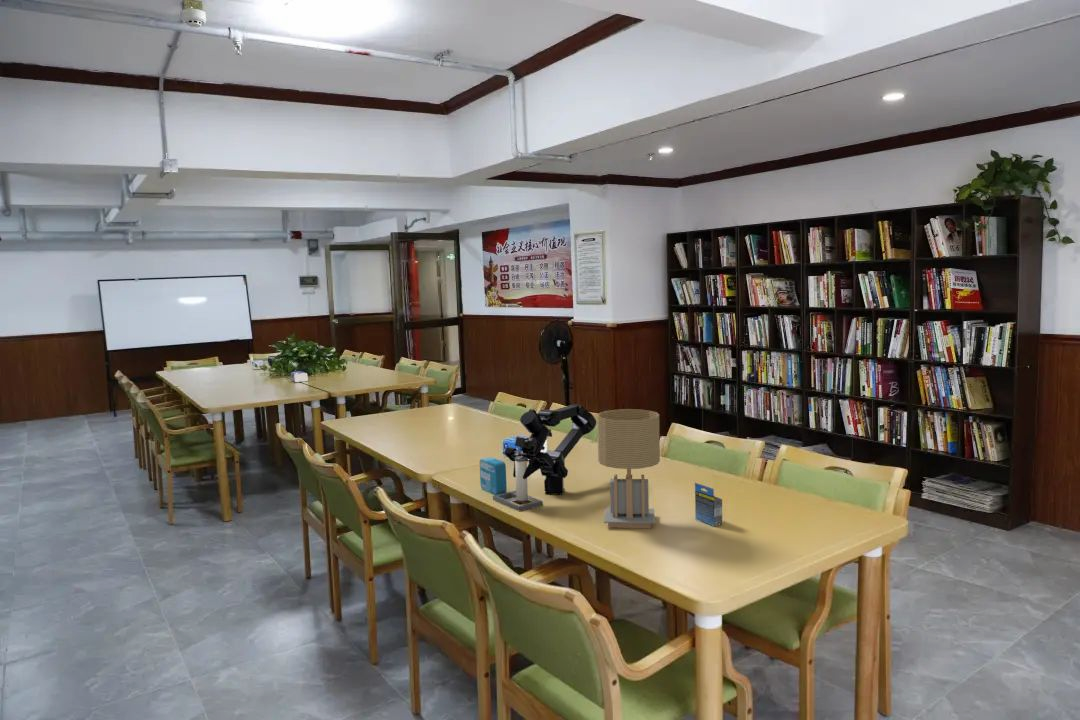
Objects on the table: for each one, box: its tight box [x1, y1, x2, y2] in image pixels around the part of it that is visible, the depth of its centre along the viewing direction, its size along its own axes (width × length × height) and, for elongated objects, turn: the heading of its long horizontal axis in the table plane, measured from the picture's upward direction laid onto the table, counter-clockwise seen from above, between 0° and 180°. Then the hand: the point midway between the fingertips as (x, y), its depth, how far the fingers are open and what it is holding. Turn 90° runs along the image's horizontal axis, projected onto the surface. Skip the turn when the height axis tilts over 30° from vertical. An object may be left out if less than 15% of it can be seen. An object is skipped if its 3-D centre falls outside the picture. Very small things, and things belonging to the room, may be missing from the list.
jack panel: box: [492, 490, 544, 512], centre depth 255 cm, size 10×17×2 cm, turn 36°
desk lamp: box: [596, 408, 661, 529], centre depth 229 cm, size 20×20×35 cm
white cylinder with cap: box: [515, 456, 529, 501], centre depth 249 cm, size 4×4×15 cm
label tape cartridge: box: [694, 482, 723, 527], centre depth 228 cm, size 9×4×12 cm, turn 30°
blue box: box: [479, 456, 508, 495], centre depth 269 cm, size 12×4×12 cm, turn 35°
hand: (518, 477), depth 248 cm, fingers closed on white cylinder with cap, 4 cm apart
